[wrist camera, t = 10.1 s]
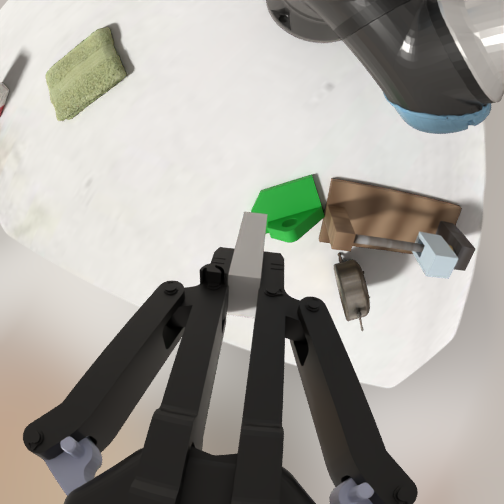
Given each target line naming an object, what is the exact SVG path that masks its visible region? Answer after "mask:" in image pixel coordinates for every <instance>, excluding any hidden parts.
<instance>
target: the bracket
mask: <svg viewBox="0 0 504 504" xmlns="http://www.w3.org/2000/svg"><path fill="white" fill-rule="evenodd" d="M251 212H252V213H261V214H267V223H266V233H270V236H271V238H274V239H278V240H281V241H285V242H295V241H297V240H298V239H300V238H301V237H302V236H303V235H304V234H305V233H306V232H308V231H309V230H310V229H311V228H312V227H313V226H315V225H316V224H317V223H318V222H319V221H320V220H321V219H323V218H324V217H325V216H324V212H323V209H322V206H321V202H320V199H319V196H318V193H317V190H316V186H315V183H314V180H313V177H312V175H309V176H305V177H302V178H299V179H296V180H292V181H289V182H286V183H283V184H280V185H276V186H273V187H270V188H267V189H264V190H261V191H260V193H259V195H258V198H257V200H256V202H255V204H254V206H253V208H252V210H251ZM266 233H265V234H266Z"/></svg>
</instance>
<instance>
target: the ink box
mask: <svg viewBox="0 0 504 504" xmlns="http://www.w3.org/2000/svg"><path fill="white" fill-rule="evenodd" d="M8 93H9V89H8V88H7V87H6V86H5V85H4V84H3V82H1V83H0V116H1V113H2V110H3V107H4V104H5V101H6V98H7V96H8Z"/></svg>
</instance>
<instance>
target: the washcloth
mask: <svg viewBox="0 0 504 504" xmlns="http://www.w3.org/2000/svg"><path fill="white" fill-rule="evenodd" d="M113 44H114V41H113V39H112V36H111V31H110V29H109V28H108V27H106V28H100V29H97V30H96V31H95V32H93V33H92V34H91V35H90V36H89V37H87V38H86V39H85V40H83V41H82V42H81V43H80V44H79V45H77V46H76V47H75V48H74V49H73V50H71V51H70V52H69V53H68V54H67V55H65V56H64V57H63V58H62V59H61V60H59V61H58V62H57V63H55V64H54V65H53V66H52V67H51V68H50V70H49V71H47V73H46V81H47V85H48V88H49V92H50V100H51V103H52V104H53V105H54V108H55V111H56V117H57V120H58V121H61V120H62V121H64V120H65V119H68V120H70V119H73V117H75V116H76V115H77V114H78V113H79V112H81V111H82V110H83V109H84V108H85V107H87V105H90V104H91V103H92V102H94V101H95V100H96V99H97V98H99V97H100V96H102V94H104V93H106V92H107V91H108V90H109V89H111V88H112V87H113V86H115V85H116V84H117V83H118V82H120V81H121V80H122V79H124V77H125V76H126V72H125V70H124V67H123V65H122V64H121V63H122V62H121V61H120V57H119V55H117V54H116V51H115V48H114V46H113Z"/></svg>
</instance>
